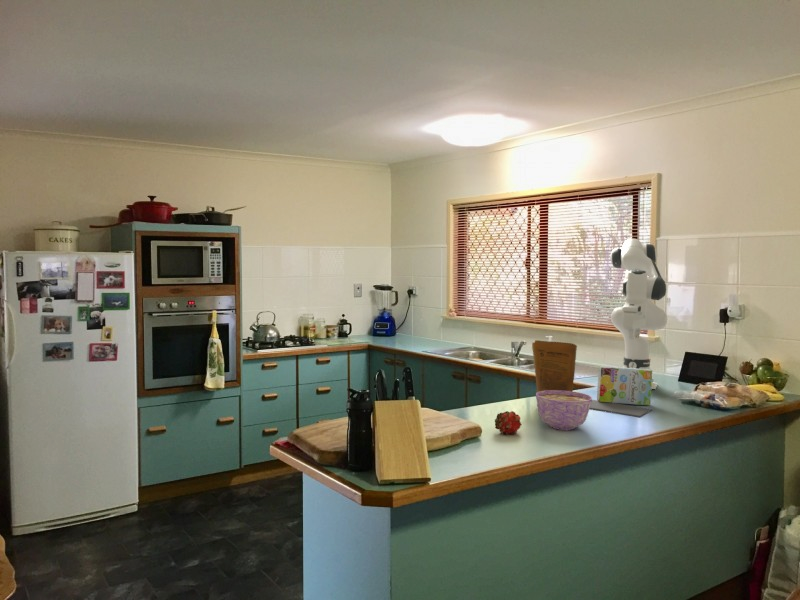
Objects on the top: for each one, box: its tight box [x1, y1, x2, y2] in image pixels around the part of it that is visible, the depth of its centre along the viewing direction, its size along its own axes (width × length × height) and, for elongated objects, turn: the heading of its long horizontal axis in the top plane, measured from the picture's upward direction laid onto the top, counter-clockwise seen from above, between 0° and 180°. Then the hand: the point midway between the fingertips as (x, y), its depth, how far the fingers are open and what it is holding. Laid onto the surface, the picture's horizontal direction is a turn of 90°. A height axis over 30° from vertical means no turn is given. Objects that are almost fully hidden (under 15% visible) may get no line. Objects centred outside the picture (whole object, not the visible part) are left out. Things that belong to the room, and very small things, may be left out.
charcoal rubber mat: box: [589, 399, 653, 418], centre depth 274 cm, size 16×26×1 cm, turn 54°
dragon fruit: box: [494, 411, 523, 435], centre depth 231 cm, size 8×8×12 cm
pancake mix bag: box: [531, 340, 578, 407], centre depth 268 cm, size 7×19×28 cm, turn 45°
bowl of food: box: [535, 390, 593, 431], centre depth 241 cm, size 20×20×12 cm
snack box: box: [596, 365, 653, 406], centre depth 284 cm, size 21×6×15 cm, turn 84°
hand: (634, 338), depth 291 cm, fingers open, 6 cm apart
